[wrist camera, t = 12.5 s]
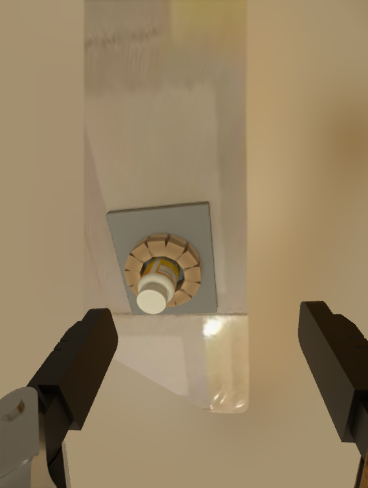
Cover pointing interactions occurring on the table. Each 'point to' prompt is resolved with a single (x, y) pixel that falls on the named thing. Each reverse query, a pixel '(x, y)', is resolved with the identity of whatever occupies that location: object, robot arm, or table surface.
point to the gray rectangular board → (172, 222)
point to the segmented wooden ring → (173, 250)
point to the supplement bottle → (157, 284)
